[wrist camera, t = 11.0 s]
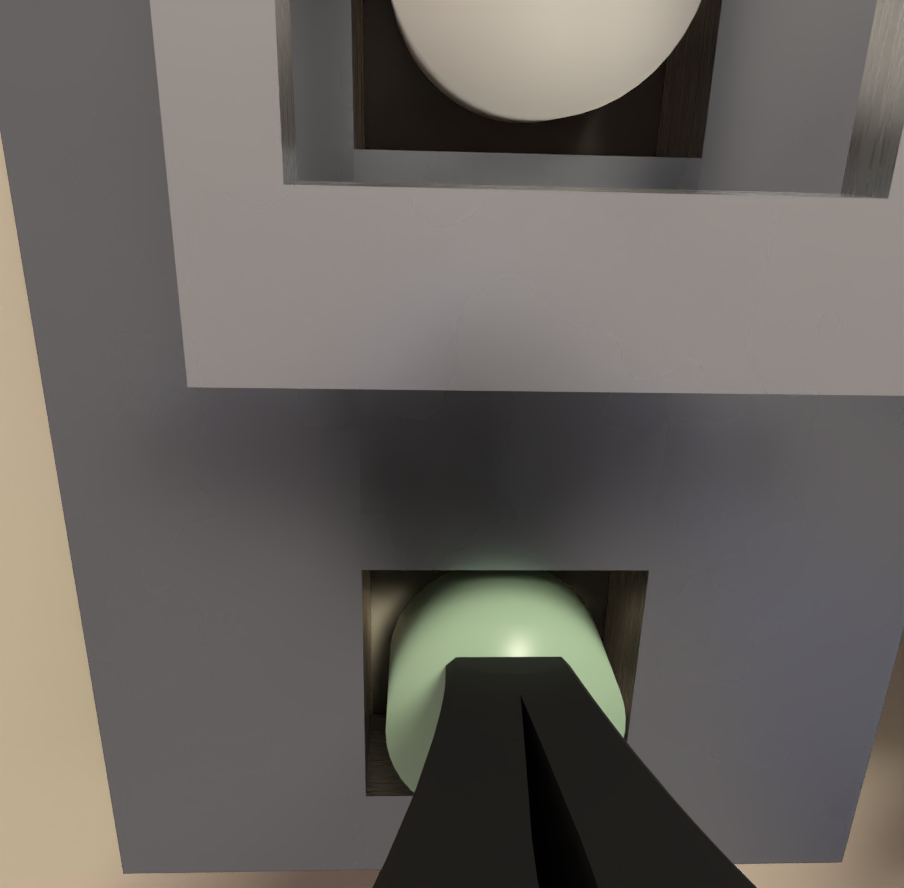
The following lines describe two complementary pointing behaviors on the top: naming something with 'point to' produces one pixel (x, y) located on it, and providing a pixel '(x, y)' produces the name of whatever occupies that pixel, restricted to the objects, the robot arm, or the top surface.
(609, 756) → the robot arm
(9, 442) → the top surface
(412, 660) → the button on
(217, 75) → the panel
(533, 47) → the button reset
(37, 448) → the top surface
